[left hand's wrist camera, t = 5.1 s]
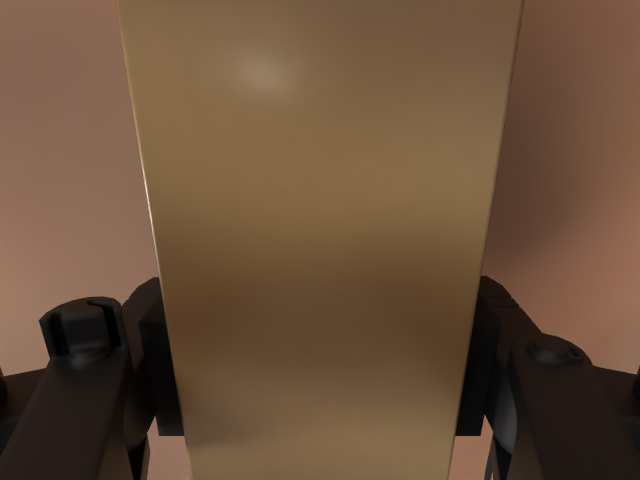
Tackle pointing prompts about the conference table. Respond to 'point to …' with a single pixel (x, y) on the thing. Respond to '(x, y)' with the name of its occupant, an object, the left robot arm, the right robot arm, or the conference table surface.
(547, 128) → the conference table surface
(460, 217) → the post
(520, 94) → the conference table surface
